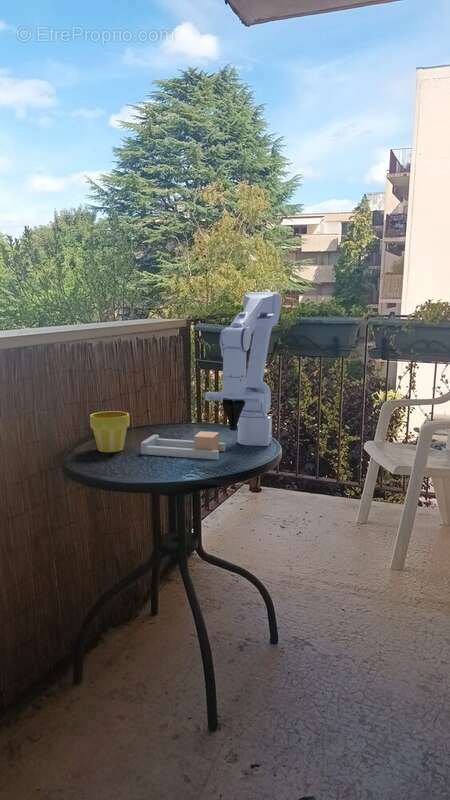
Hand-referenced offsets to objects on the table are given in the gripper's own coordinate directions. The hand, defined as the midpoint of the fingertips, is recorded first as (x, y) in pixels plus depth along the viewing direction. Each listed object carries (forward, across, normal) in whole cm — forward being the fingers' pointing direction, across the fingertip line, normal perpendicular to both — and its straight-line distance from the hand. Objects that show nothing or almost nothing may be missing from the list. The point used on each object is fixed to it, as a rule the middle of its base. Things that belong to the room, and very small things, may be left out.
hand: (233, 429), depth 135 cm
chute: (+8, -13, 0) cm, 15 cm away
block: (+7, -7, 0) cm, 10 cm away
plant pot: (+8, -34, +1) cm, 35 cm away
